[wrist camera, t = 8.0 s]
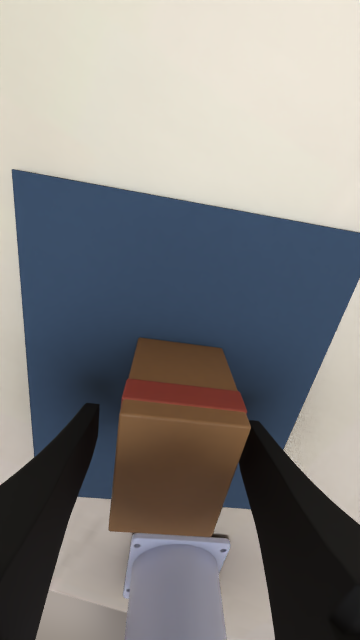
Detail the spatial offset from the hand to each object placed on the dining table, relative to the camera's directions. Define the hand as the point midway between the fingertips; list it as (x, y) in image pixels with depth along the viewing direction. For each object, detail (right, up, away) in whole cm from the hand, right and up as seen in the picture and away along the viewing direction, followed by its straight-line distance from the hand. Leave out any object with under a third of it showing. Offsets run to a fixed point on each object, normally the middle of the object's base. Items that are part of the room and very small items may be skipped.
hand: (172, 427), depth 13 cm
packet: (0, +1, +2) cm, 3 cm away
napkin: (0, +1, +3) cm, 3 cm away
